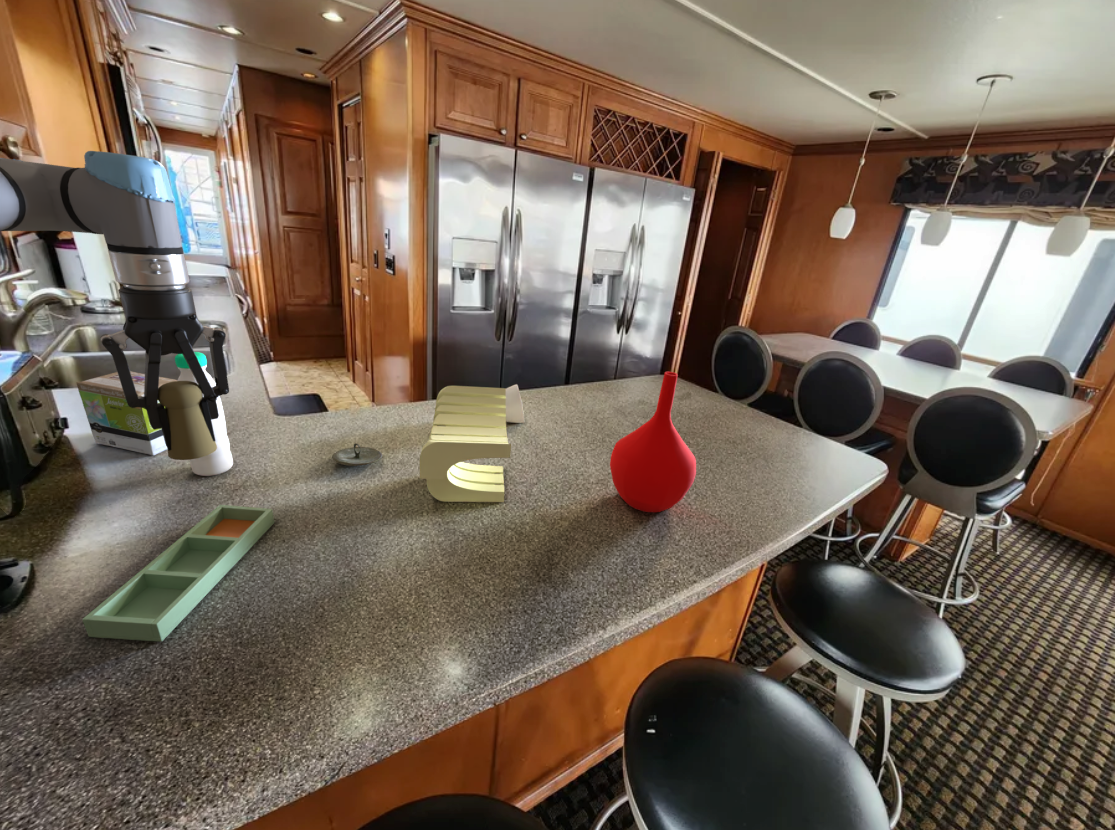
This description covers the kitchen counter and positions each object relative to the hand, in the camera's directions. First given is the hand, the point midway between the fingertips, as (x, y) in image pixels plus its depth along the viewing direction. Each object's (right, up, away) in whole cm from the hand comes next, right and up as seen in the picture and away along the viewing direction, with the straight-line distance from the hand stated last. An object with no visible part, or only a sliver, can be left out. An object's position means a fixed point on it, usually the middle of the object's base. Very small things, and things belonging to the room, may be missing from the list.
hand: (190, 442), depth 70 cm
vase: (+76, -15, +33) cm, 84 cm away
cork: (0, -2, 0) cm, 2 cm away
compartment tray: (+1, -20, +1) cm, 20 cm away
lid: (+10, -7, +35) cm, 37 cm away
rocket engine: (+37, +3, +66) cm, 76 cm away
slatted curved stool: (+36, -11, +31) cm, 49 cm away
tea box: (-38, -2, +34) cm, 51 cm away
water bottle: (-17, -7, +27) cm, 32 cm away
